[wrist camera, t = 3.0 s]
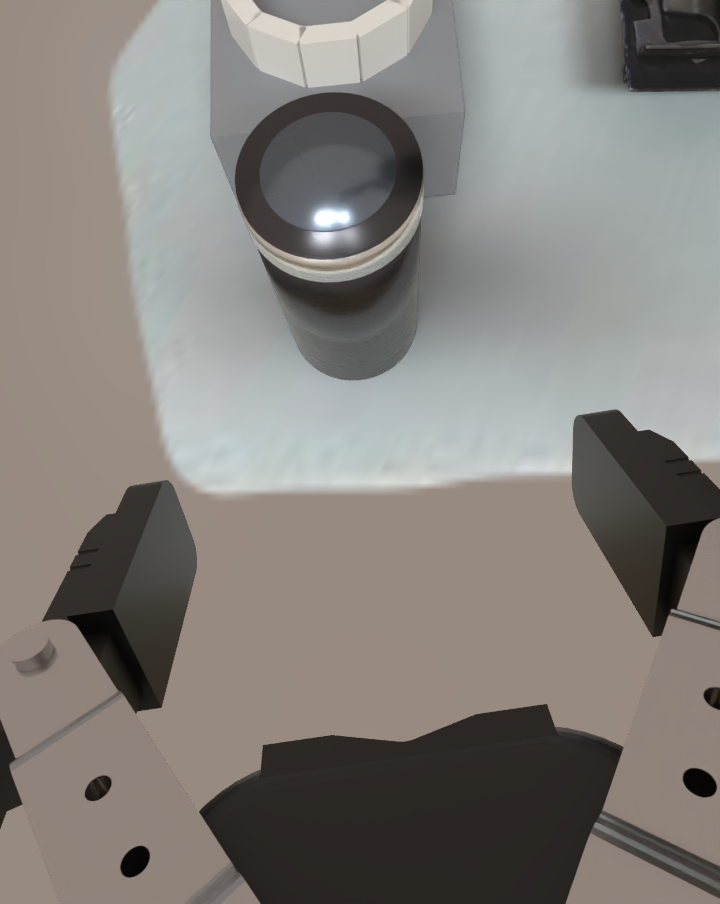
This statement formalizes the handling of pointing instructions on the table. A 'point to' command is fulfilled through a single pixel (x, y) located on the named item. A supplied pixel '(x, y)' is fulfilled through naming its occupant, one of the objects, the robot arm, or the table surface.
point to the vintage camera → (671, 45)
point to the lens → (338, 227)
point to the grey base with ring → (339, 69)
